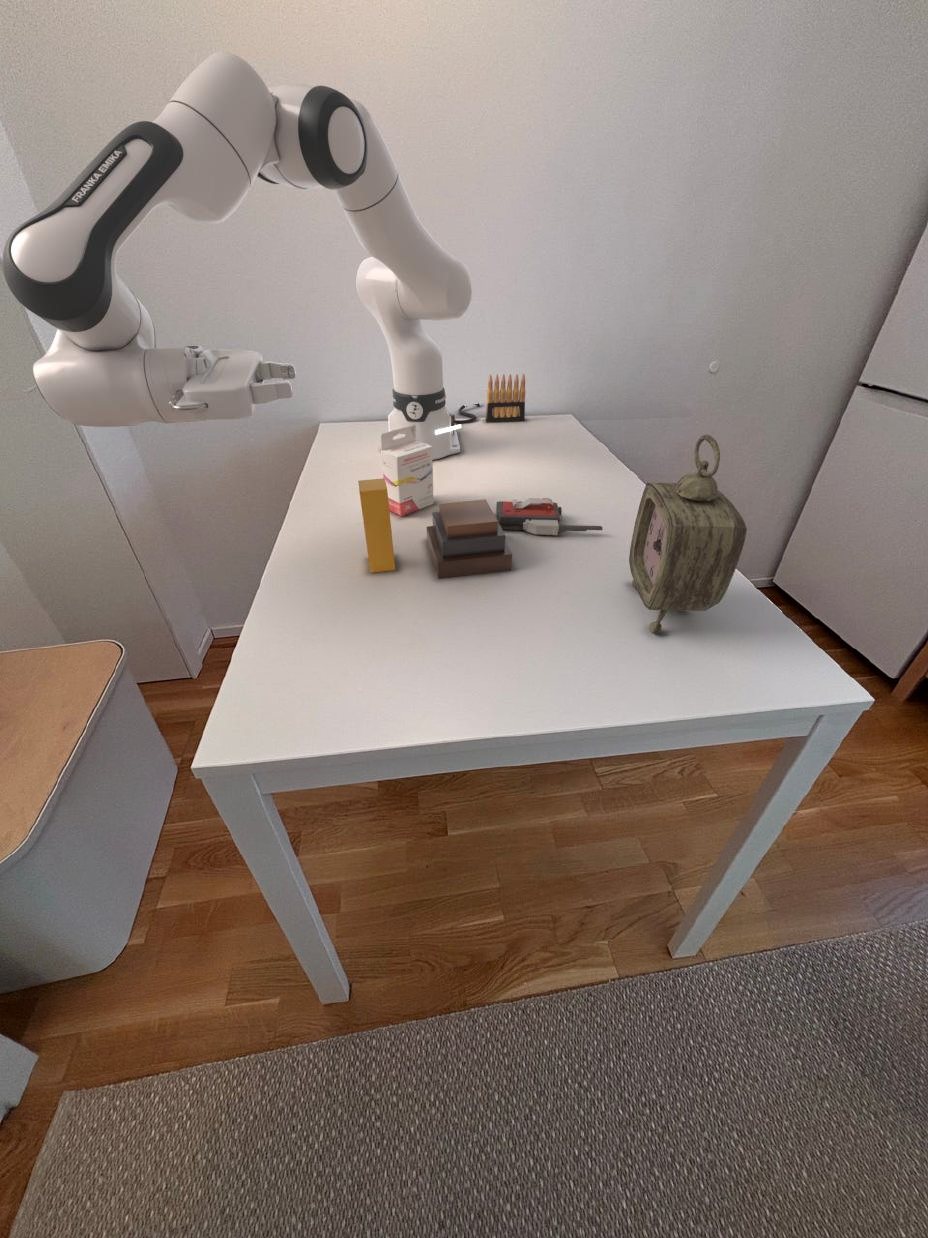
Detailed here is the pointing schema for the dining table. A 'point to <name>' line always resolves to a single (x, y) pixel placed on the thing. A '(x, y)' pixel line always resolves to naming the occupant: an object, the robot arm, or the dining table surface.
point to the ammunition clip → (505, 400)
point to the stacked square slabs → (467, 540)
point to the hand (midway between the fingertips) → (293, 379)
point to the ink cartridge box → (407, 471)
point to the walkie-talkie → (535, 517)
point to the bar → (377, 524)
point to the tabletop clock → (685, 542)
